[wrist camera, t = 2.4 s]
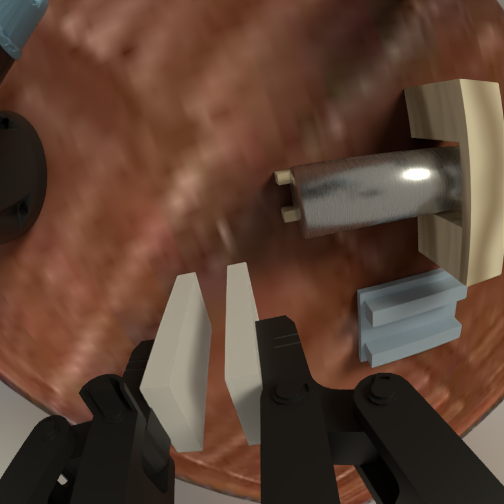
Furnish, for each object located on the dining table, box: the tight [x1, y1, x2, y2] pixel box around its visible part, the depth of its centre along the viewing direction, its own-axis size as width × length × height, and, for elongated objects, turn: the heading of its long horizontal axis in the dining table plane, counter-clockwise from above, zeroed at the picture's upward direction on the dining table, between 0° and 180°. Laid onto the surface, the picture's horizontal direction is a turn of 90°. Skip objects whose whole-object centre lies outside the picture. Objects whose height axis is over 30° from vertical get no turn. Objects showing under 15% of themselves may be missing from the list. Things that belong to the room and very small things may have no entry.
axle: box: [289, 146, 462, 239], centre depth 26 cm, size 19×6×6 cm, turn 101°
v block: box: [357, 268, 467, 368], centre depth 35 cm, size 14×10×4 cm
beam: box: [274, 79, 504, 287], centre depth 26 cm, size 33×18×10 cm, turn 101°
